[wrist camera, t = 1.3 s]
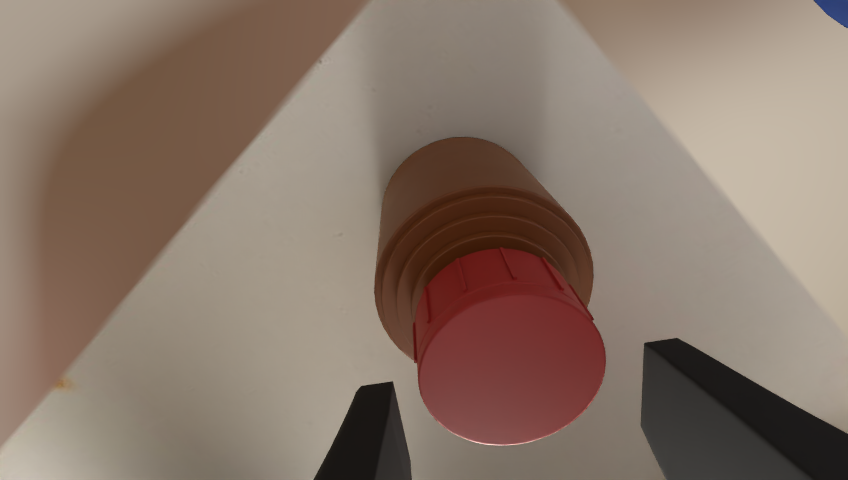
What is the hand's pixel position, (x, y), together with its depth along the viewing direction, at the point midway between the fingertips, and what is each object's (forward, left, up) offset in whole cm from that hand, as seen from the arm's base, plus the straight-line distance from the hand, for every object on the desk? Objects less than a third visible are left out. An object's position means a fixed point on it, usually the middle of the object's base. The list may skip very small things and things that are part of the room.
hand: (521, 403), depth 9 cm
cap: (0, 0, -1) cm, 1 cm away
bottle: (0, 0, -10) cm, 10 cm away
